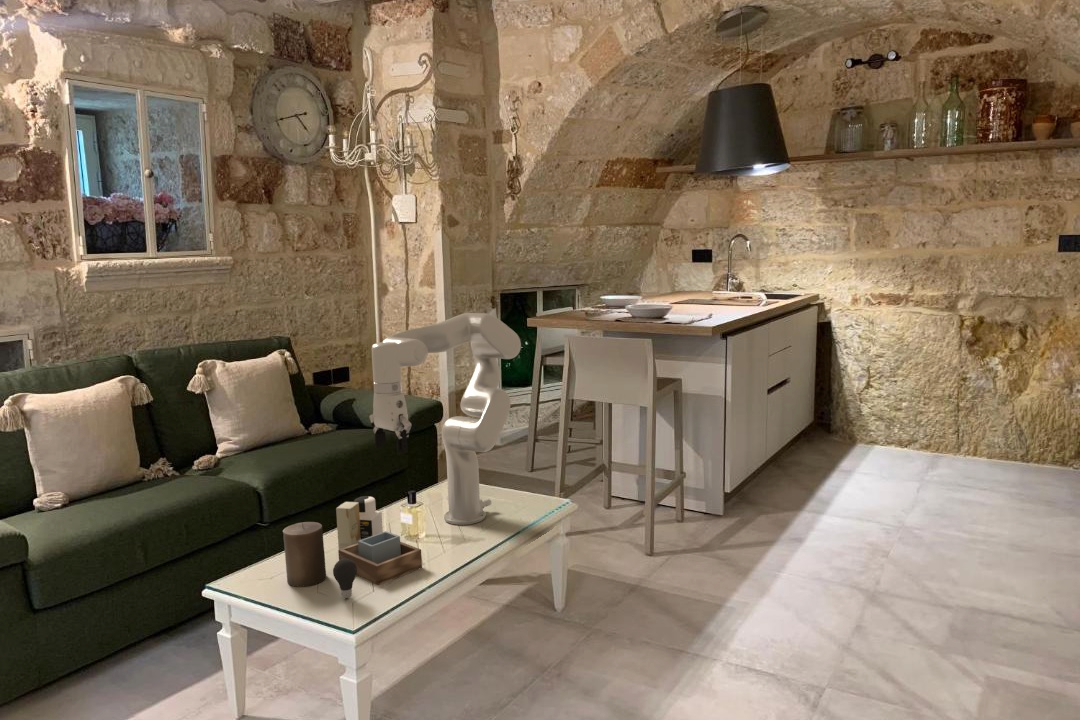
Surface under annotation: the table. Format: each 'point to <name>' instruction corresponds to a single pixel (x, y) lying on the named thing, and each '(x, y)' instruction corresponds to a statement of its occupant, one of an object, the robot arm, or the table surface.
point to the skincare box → (348, 524)
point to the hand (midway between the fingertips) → (391, 449)
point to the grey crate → (380, 547)
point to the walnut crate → (384, 564)
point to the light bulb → (345, 576)
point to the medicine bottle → (369, 517)
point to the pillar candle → (304, 554)
